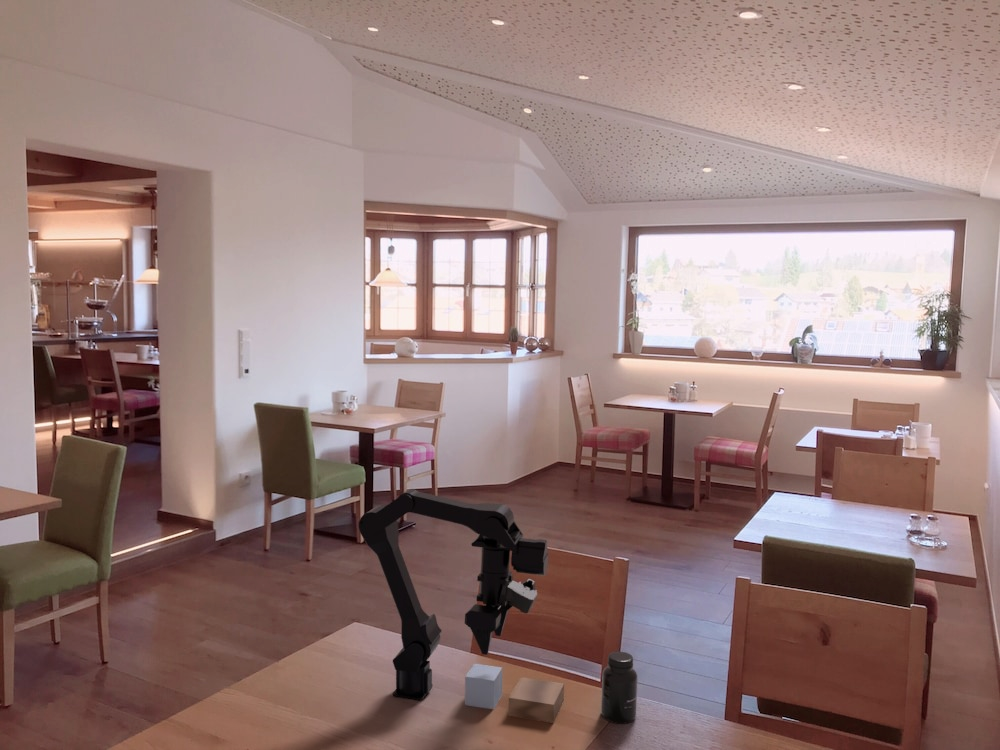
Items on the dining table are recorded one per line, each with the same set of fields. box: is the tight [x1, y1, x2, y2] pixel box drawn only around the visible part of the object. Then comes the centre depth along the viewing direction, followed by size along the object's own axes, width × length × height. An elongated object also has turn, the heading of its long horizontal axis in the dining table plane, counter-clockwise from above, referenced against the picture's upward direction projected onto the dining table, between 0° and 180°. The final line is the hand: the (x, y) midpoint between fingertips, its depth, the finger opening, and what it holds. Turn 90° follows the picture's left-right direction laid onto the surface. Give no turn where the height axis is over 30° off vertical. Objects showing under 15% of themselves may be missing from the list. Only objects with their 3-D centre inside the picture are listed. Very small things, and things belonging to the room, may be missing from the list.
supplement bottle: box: [600, 651, 639, 724], centre depth 156 cm, size 7×7×12 cm
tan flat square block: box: [508, 676, 565, 724], centre depth 159 cm, size 9×9×4 cm
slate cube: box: [464, 663, 503, 710], centre depth 162 cm, size 6×6×6 cm
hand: (491, 644), depth 160 cm, fingers open, 9 cm apart
